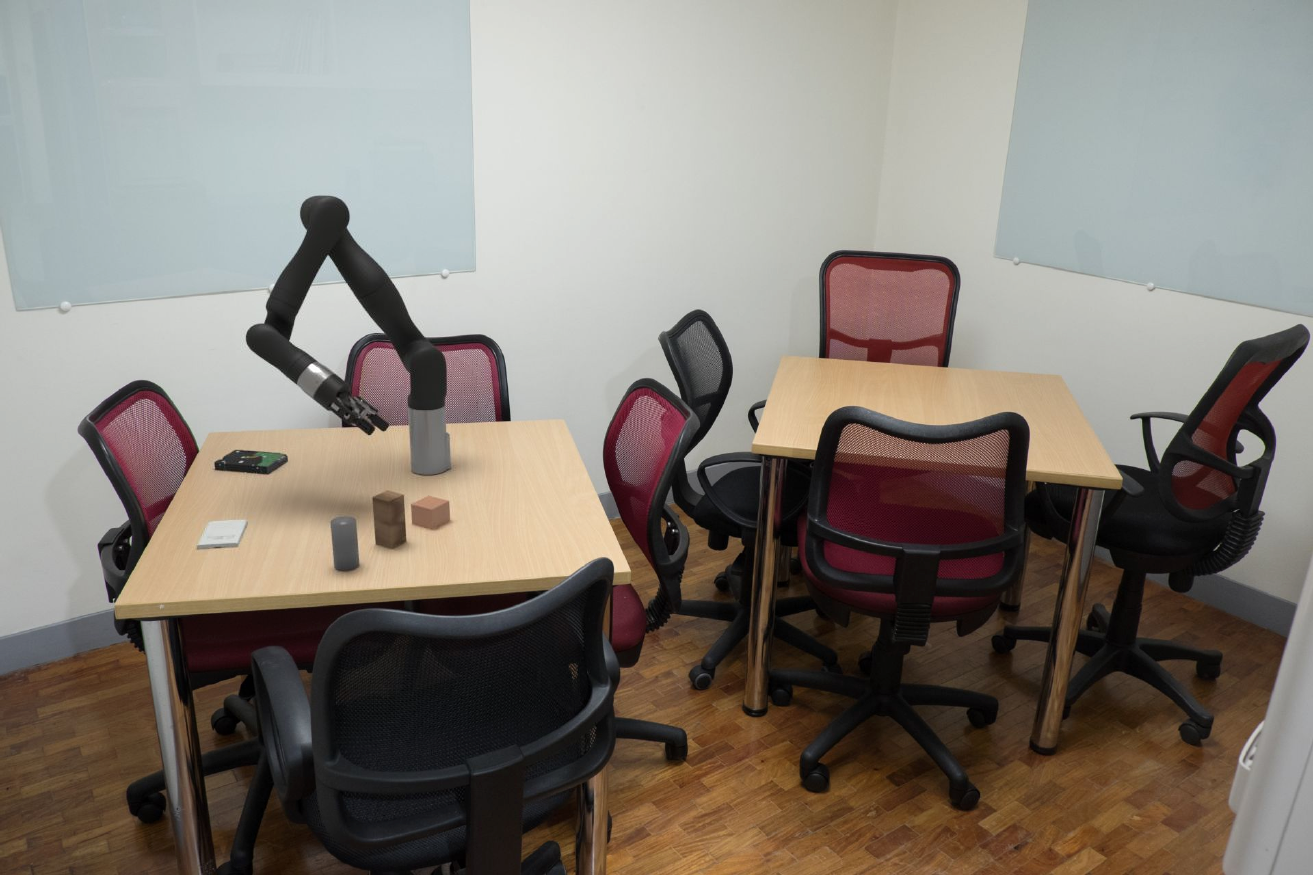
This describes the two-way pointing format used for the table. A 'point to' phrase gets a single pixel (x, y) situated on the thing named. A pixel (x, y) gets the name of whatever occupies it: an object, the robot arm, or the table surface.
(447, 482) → the table surface
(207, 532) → the external hard drive
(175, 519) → the table surface
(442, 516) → the terracotta block
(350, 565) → the charcoal cylinder
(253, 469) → the disk drive
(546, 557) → the table surface
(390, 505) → the walnut column
